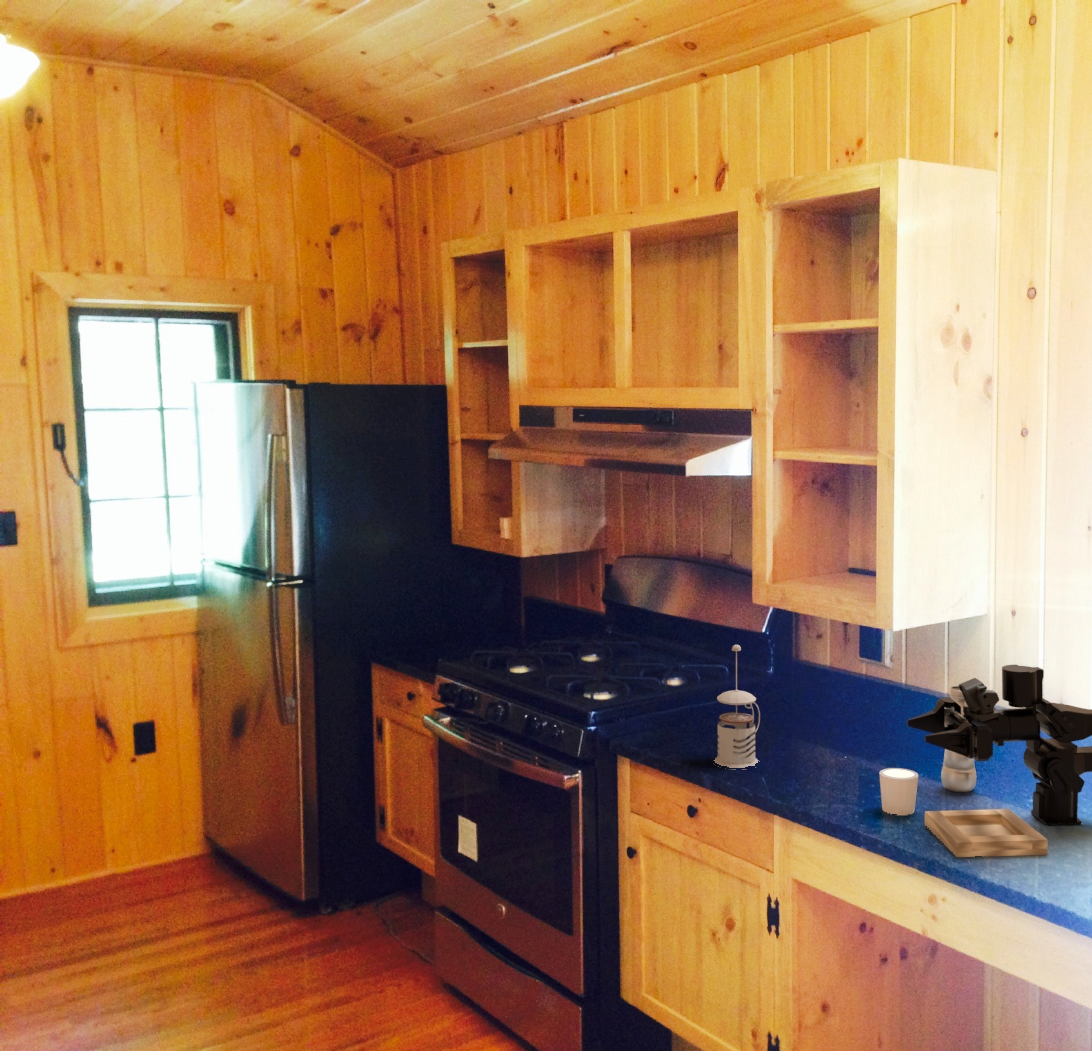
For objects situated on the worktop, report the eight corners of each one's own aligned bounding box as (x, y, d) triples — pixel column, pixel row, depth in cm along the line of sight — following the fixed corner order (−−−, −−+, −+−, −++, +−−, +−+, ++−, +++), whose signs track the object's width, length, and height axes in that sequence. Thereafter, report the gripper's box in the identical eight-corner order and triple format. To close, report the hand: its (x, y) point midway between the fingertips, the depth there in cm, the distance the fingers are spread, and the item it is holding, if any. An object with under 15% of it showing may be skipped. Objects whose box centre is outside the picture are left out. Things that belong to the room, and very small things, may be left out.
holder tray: (1008, 822, 208) (1008, 808, 208) (1047, 854, 193) (1047, 839, 193) (924, 824, 208) (924, 811, 207) (956, 857, 193) (957, 842, 192)
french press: (703, 762, 246) (702, 644, 244) (738, 751, 254) (738, 637, 252) (740, 772, 239) (739, 651, 237) (775, 760, 247) (775, 643, 244)
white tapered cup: (888, 801, 220) (888, 764, 220) (923, 808, 216) (924, 771, 215) (872, 811, 215) (873, 774, 214) (909, 819, 211) (909, 781, 210)
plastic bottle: (940, 794, 224) (941, 691, 222) (941, 783, 230) (942, 682, 228) (976, 797, 222) (978, 693, 220) (976, 786, 228) (978, 685, 226)
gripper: (982, 667, 216) (898, 672, 215) (1026, 695, 197) (934, 700, 197) (982, 726, 217) (898, 731, 217) (1026, 759, 199) (934, 765, 198)
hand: (916, 730), depth 207 cm, fingers open, 9 cm apart
